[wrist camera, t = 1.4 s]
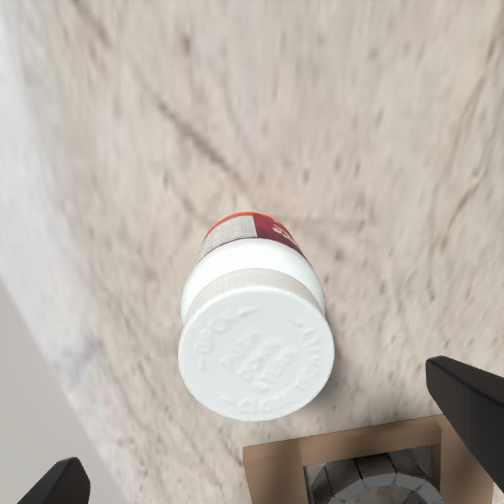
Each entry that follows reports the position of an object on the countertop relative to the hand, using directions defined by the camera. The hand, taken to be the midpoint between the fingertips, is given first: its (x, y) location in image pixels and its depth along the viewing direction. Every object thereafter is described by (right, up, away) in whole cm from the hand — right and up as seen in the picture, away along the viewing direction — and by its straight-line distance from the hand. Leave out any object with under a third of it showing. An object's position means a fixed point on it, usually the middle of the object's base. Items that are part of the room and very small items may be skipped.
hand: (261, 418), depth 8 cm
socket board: (+10, -17, +20) cm, 28 cm away
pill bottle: (-1, +4, +13) cm, 14 cm away
